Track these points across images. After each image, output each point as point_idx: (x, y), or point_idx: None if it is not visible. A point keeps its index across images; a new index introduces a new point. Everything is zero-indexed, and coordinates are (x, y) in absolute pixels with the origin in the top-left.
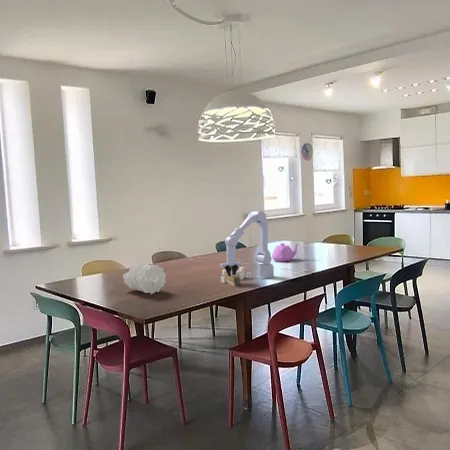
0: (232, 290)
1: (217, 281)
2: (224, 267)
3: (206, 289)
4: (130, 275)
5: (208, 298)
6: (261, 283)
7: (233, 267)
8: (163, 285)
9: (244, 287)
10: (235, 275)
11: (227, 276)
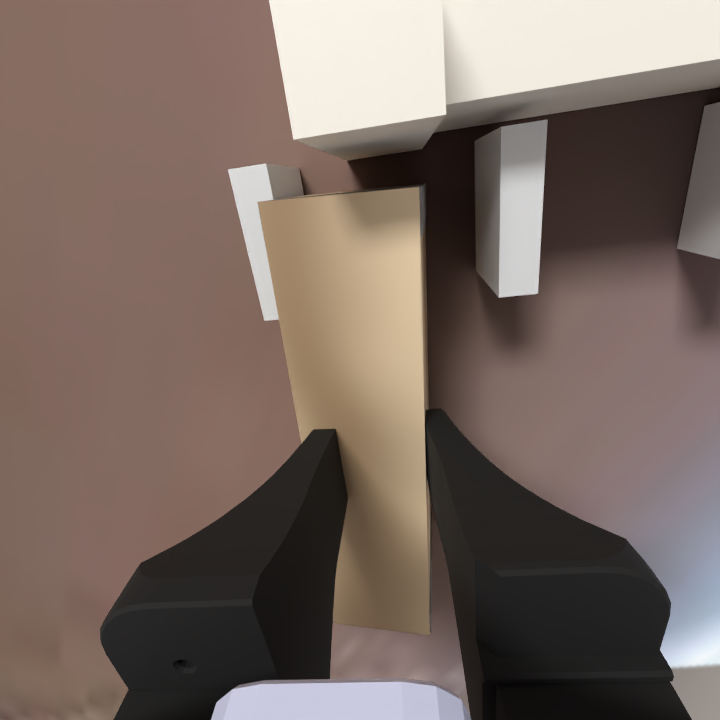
0: None
1: (220, 55)
2: (135, 581)
3: (8, 479)
4: None
5: (32, 693)
6: (686, 596)
7: (471, 651)
8: None
9: None
10: (699, 80)
11: (302, 431)
